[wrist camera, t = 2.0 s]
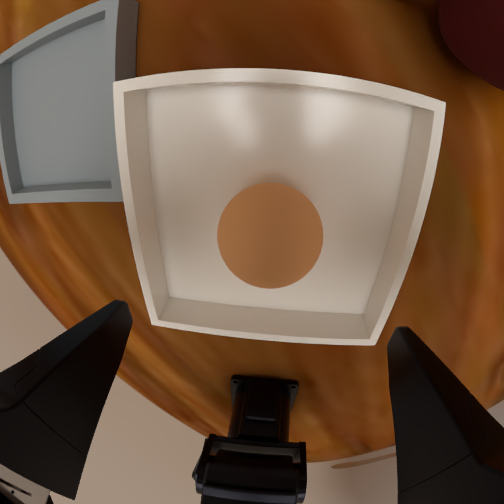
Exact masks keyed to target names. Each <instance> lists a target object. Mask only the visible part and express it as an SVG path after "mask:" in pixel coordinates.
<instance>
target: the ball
mask: <svg viewBox="0 0 504 504" xmlns="http://www.w3.org/2000/svg"><path fill="white" fill-rule="evenodd" d="M217 241H218V247H219V251H220V254H221V256H222V259H223V260H224V262H225V264H226V266H227V267H228V268H229V270H230V271H231V272H232V273H233V274H234V275H235V276H237V277H238V278H239V279H240V280H242V281H244V282H245V283H247V284H249V285H252V286H255V287H259V288H265V289H275V288H282V287H285V286H289V285H291V284H293V283H295V282H297V281H299V280H300V279H302V278H303V277H304V276H305V275H306V274H307V273H308V272H309V271H310V270H311V269H312V268H313V267H314V265H315V263H316V262H317V260H318V258H319V255H320V253H321V249H322V245H323V226H322V222H321V219H320V216H319V214H318V212H317V210H316V208H315V206H314V205H313V204H312V202H311V201H310V200H309V199H308V198H307V197H306V196H305V195H304V194H302V193H301V192H300V191H298V190H296V189H295V188H293V187H290V186H288V185H284V184H280V183H260V184H256V185H253V186H250V187H248V188H246V189H244V190H242V191H241V192H239V193H238V194H237V195H235V196H234V197H233V198H232V199H231V200H230V202H229V203H228V204H227V206H226V207H225V209H224V210H223V212H222V215H221V217H220V220H219V224H218V230H217Z"/></svg>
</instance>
